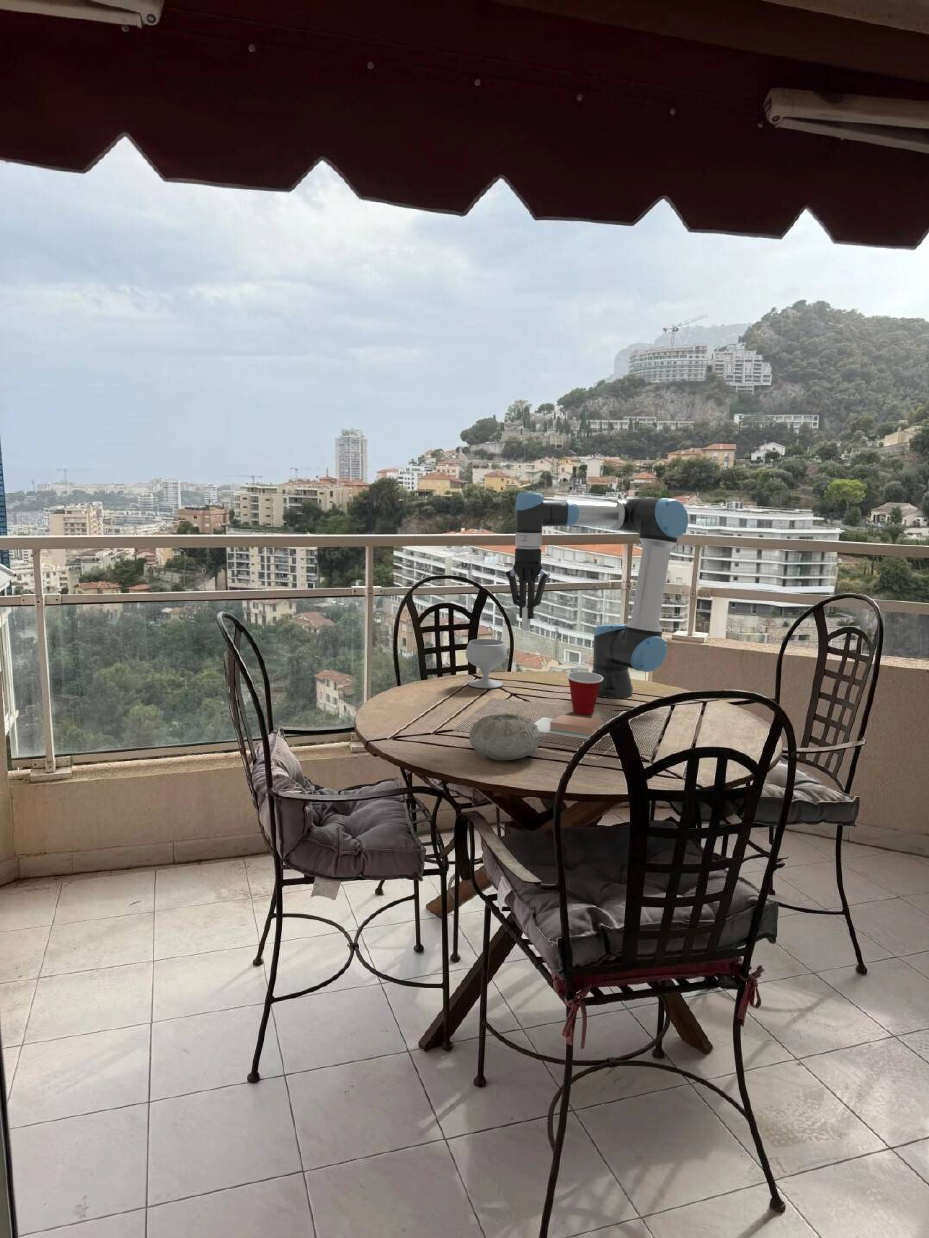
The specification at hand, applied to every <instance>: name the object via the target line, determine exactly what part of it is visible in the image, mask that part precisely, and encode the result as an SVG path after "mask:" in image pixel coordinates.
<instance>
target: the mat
mask: <svg viewBox="0 0 929 1238" xmlns="http://www.w3.org/2000/svg"><path fill="white" fill-rule="evenodd" d="M554 719H555V718H549V717H543V716H542V717H541V718H539V719H538V720H537V721H535V722H533V723H534V724H535V725H537V728H538V730H539V733H546V734H552V735H553V734H554V735H559V736H566V737H571V738H577V739H578V738H579V739H586V740H588V739H587V738H588V737H589V736H584V735H577V734H570V733H564V732H557V731H551V730H550V722H551V721H552V720H554Z"/></svg>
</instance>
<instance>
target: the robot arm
mask: <svg viewBox="0 0 929 1238" xmlns="http://www.w3.org/2000/svg"><path fill="white" fill-rule="evenodd" d="M514 515H515V536H514V537H515V539H514V541H515V542H514V543H515V544H514V545H515V549H514V564H513V566H512V568H511V569H510V570H507V571H505V576H506V577H507V578H508V579H507V580H508V582H509V590H510V593H511V597H512V603H513V605H515V606H518V611H519V613H518V616H519V619H521V631H529V630H531V620H532V619H533V618H534V611H535V610H534V608H535V607H537V606H540V605H541V603H542V598H543V595H544V591H545V589H546V588H545V587H546V583H547V581H548V579H549V578H550V577H551V576H550V575H551V574H550V573H549V572H546V571H545V570H543V565H542V550H541V547H542V546H543V543H542V542H543V540H542V539H543V527H565V528H567V527H572V526H575V527H576V526H577V527H578V526H579V527H608V529H610V530H612V531H621V532H623V531H624V532H629V533H633V534H638V535H639V537H638V540H639V541H640V543H641V544H642V550H641V555H640V561H639V568H638V573H637V578H636V579H637V580H636V587H635V594H634V600H633V606H632V612H631V618H630V621H628V622H627V623H608V624H607V623H606V624H605V623H604V624H599V625H596V626H595V628H594V634H593V654H592V655H593V657H592V658H593V659H592V671H591V673H596V674H598V675H601V676H602V677H603V681H602V682H601V685H600V687H599V690H598V695H597V697H603V698H609V699H610V698H613V699H614V698H618V699H619V698H627V697H630V696H632V695H633V692H634V690H633V689H634V686H633V684H632V682H631V681H632V680H631V676H630V675H631V674H630V672H629V669H633V670H635V671H637V672H645V673H650V672H654V671H656V670H657V669H659V667H661V666H662V665H663V663H664V662H665V660H666V657H667V655H668V645H667V643H666V641H665V639H663V638H662V637H663V636H662V635H663V629H662V627H660V624H659V623H660V617H661V611H662V605H663V601H664V600H663V599H664V593H665V586H666V582H667V581H666V580H667V574H668V569H669V568H668V567H669V561H670V556H671V550H672V548H674V547H675V546H676V545H677V544H678V538H679V537H681V536H682V535H684V533H685V532H686V531H687V528H688V526H689V513H688V510H687V509H686V507H685V504H683V503H682V502H681V501H679V500H678V499H674V498H669V497H638V498H637V497H636V498H629V499H612V500H610V501H609V502H604V501H603V502H600V501H580V500H579V501H578V500H571V499H570V500H568V499H544V495H543V493H540V492H520V493H518V494H517V496H516V501H515V509H514ZM516 576H517V578H518V583H517V578H516ZM537 578H540V579H539V581H538V584H537V589H536V582H537V581H536V580H537ZM518 585H519V586H518ZM518 587H519V588H518ZM535 589H536V590H535ZM535 591H536V592H535Z"/></svg>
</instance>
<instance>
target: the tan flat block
mask: <svg viewBox="0 0 929 1238" xmlns="http://www.w3.org/2000/svg"><path fill="white" fill-rule="evenodd" d="M553 719H554V720H552V721H551V722H550V730H551V731H557V732H564V733H570V734H577V735H584V736H590V735H592V734H593V733H594V732H595V730H597V729H598V728H599V727H600V726H601V725H602V726H603V719H599V718H597V719H596V718H589V717H582V716H576V715H569V714H563V713H562V714H559V715H558V716H557V717H555V718H553Z"/></svg>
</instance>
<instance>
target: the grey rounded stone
mask: <svg viewBox="0 0 929 1238" xmlns="http://www.w3.org/2000/svg"><path fill="white" fill-rule="evenodd" d="M534 723H535V722H534V721H533V720H532V719H531V718H528V717H525V716H524V715H523V716H522V715H519V714H518V713H516V714H514V713H506V712H505V713H502V714H490V715H487V716H484V717H482V718H480V719H479V720H478V721H477V722H476V723H475V722H473V724H472V727H471V728H470V731H469V737H468V738H469V744H470V745H471V748H472V749H473V750H474V751H476V752H477V753H479V754H481V755H482V756H485V757H486V758H489V759H492V760H496V761H510V760H511V761H513V760H518V759H523V758H525V757H527V756H528V757H529V756H531V755H532V754H534V753H535V752H536V751H537V749H538V747H539V746H540V745H539V743H540V741H541V734H540V733H541V732H539V730H538V728H537V725H535V724H534Z"/></svg>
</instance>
